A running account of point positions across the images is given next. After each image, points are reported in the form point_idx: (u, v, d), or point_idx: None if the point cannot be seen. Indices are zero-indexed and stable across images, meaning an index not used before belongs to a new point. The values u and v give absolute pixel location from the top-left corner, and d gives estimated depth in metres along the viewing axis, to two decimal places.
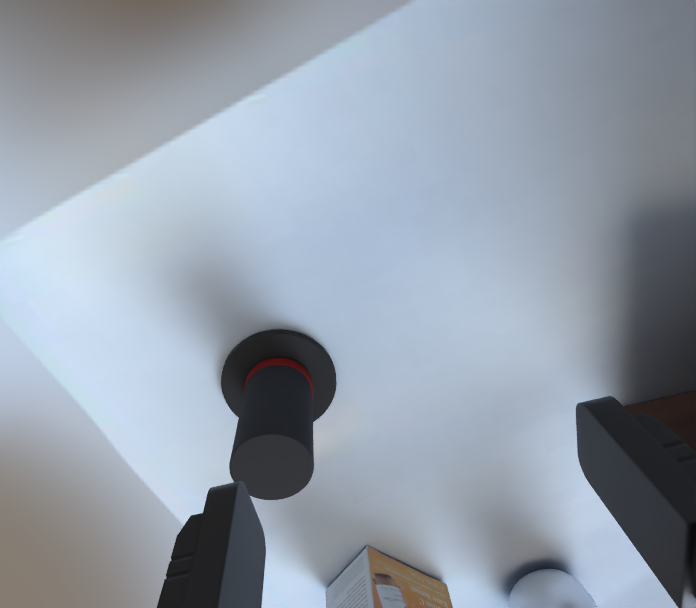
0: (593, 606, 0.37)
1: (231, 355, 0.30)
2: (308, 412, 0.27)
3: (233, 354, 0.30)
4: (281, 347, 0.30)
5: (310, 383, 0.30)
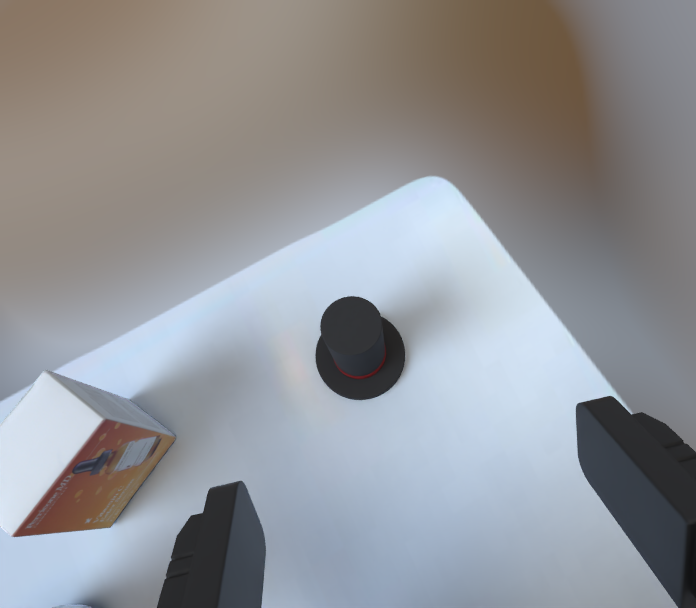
0: None
1: (385, 319, 0.40)
2: (368, 362, 0.35)
3: (386, 320, 0.40)
4: (393, 355, 0.39)
5: (368, 374, 0.38)
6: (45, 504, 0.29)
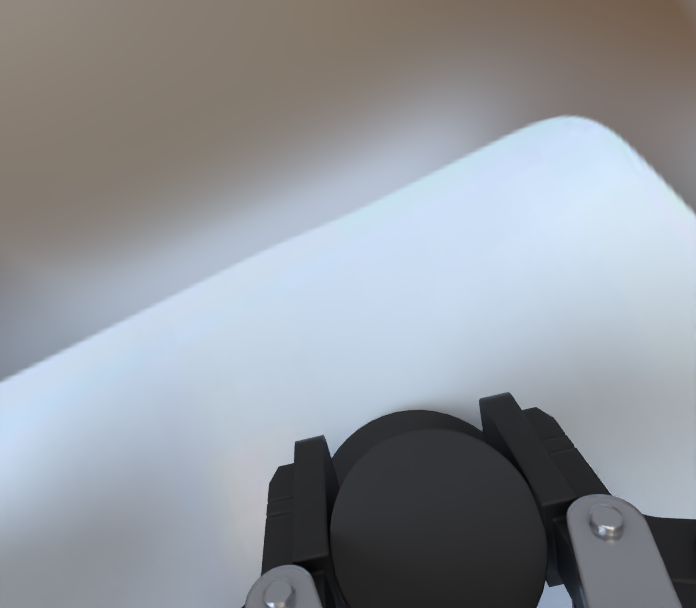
0: None
1: (481, 432, 0.17)
2: None
3: None
4: None
5: None
6: None
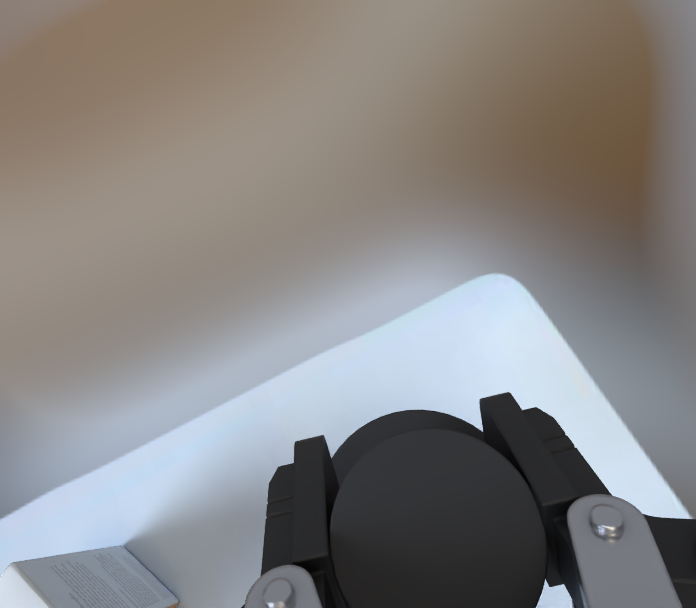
0: None
1: (481, 432, 0.17)
2: None
3: None
4: None
5: None
6: None
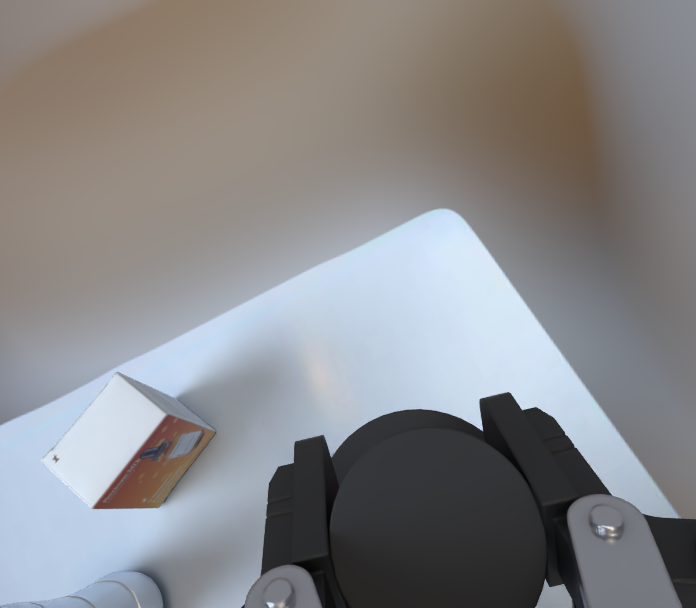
0: None
1: (481, 432, 0.17)
2: None
3: None
4: None
5: None
6: (117, 483, 0.35)
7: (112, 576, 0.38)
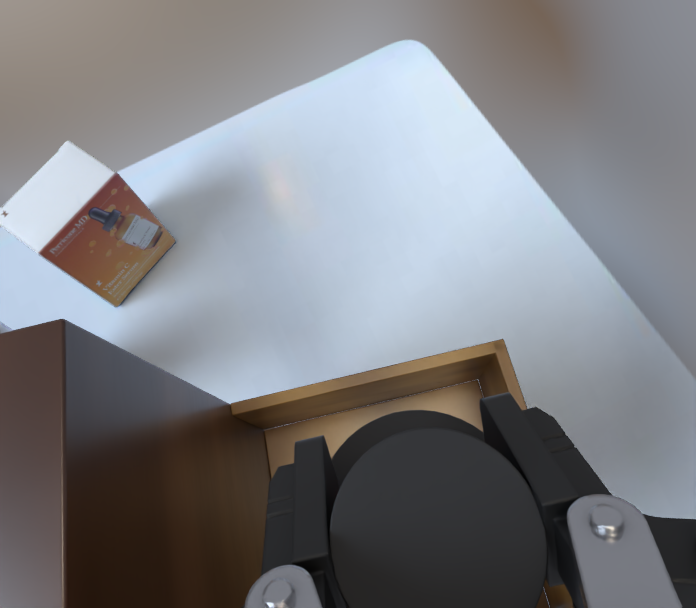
0: None
1: (481, 432, 0.17)
2: None
3: None
4: None
5: None
6: (65, 234, 0.35)
7: None
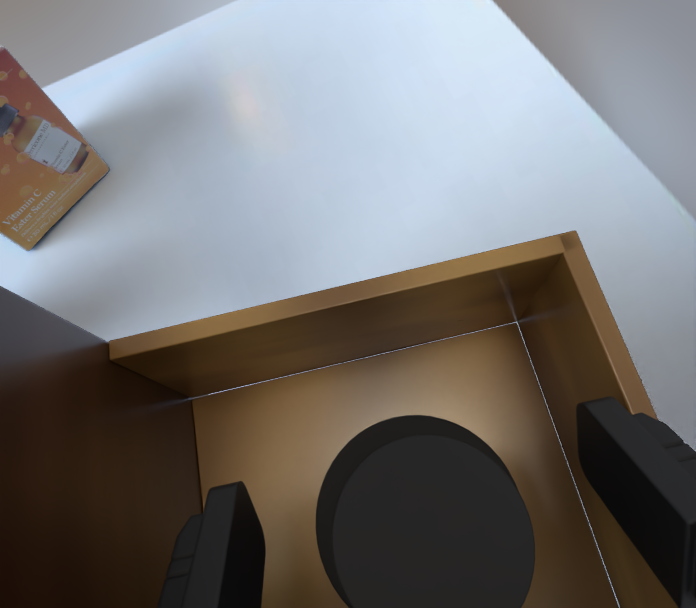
0: None
1: (477, 437, 0.18)
2: None
3: (480, 440, 0.18)
4: None
5: None
6: None
7: None
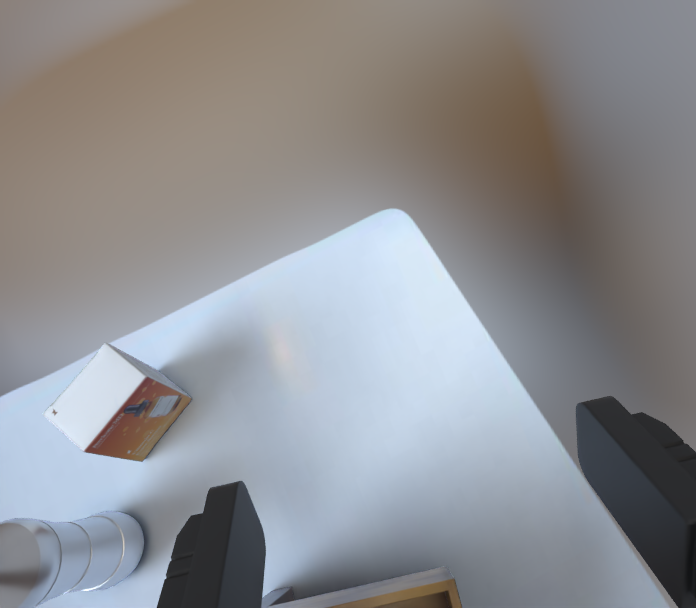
0: (118, 578, 0.44)
1: None
2: None
3: None
4: None
5: None
6: (105, 432, 0.43)
7: (101, 513, 0.46)
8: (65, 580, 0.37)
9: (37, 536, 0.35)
